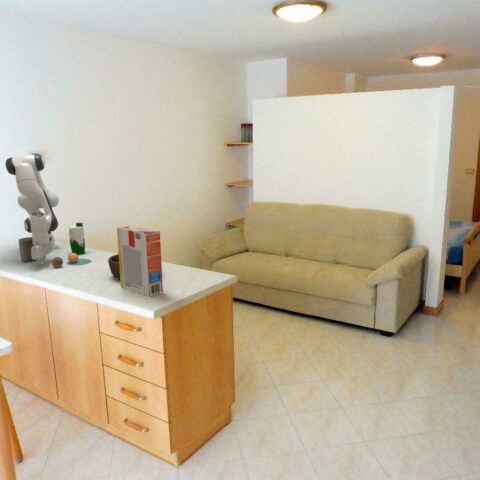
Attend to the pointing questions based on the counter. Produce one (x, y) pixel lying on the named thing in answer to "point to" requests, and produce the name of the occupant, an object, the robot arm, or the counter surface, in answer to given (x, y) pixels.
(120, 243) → the cereal box
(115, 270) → the wooden bowl
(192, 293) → the counter surface
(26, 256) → the pillar candle
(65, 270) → the counter surface
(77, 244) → the milk carton
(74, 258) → the orange ball
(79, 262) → the teal mark
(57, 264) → the walnut ball
